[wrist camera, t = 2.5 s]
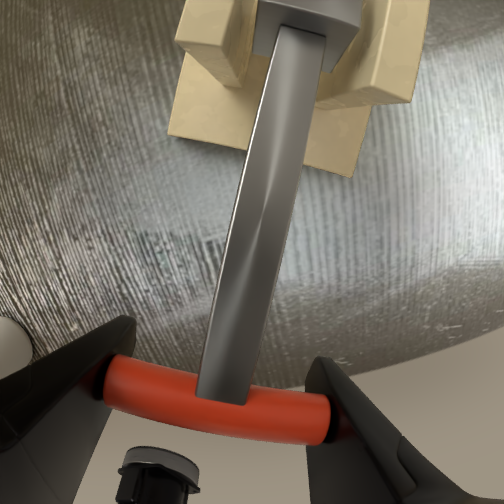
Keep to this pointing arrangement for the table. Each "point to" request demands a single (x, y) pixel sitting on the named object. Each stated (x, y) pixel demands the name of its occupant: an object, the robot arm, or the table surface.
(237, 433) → the lever
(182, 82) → the bracket
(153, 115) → the table surface
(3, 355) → the beverage can
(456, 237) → the table surface
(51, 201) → the table surface
